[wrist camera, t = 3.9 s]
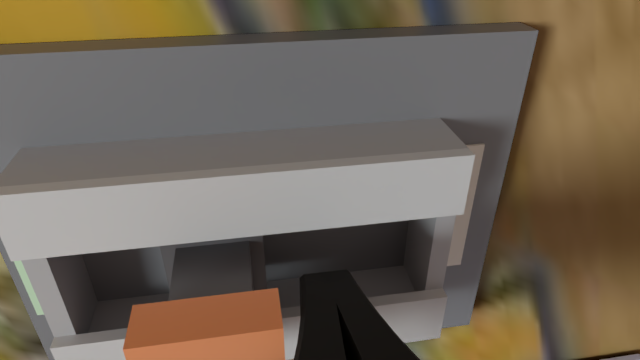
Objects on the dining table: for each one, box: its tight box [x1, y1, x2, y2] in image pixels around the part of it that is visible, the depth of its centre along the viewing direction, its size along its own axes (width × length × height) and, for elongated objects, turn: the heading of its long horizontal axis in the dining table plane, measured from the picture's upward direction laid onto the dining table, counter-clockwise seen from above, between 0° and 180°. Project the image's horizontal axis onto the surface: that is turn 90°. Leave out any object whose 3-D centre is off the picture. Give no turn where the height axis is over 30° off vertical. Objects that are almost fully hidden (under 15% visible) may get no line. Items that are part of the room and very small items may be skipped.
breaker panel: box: [0, 22, 539, 360], centre depth 15 cm, size 12×16×3 cm
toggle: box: [123, 235, 285, 360], centre depth 13 cm, size 3×3×6 cm
